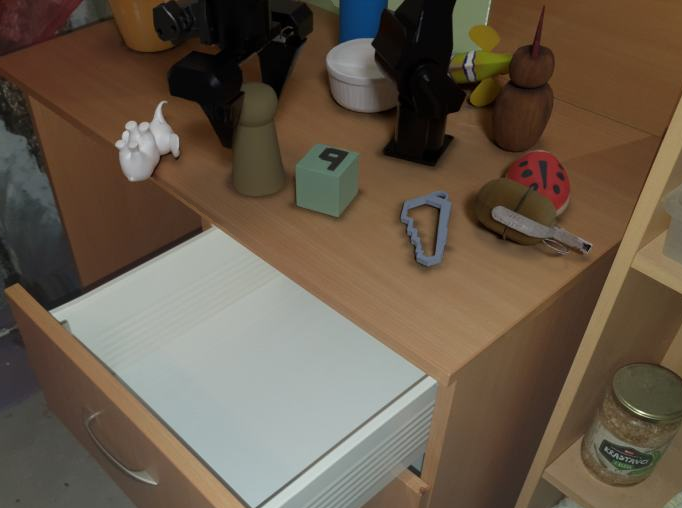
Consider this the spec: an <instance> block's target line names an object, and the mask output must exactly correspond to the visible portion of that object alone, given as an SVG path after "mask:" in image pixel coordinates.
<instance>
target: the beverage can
mask: <svg viewBox="0 0 682 508" xmlns="http://www.w3.org/2000/svg"><path fill="white" fill-rule="evenodd" d="M338 3H339V4H338V45H339V44H342V43H344V42H347V41H350V40H354V39H361V38H375V37H376V35H377V32H378V30H379V25H380V18H381V13H382V11H383V9H384V8H387V9H389V0H338Z"/></svg>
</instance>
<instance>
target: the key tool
mask: <svg viewBox="0 0 682 508" xmlns="http://www.w3.org/2000/svg"><path fill="white" fill-rule="evenodd" d="M442 197H444V198H442ZM452 203H453V202H452V201H450V195H449V193H448V192H446V191H443V190H434V191H432V192H430V193H428V194H425V195H421V196H418V197H415V198H411V199H408V200H405V201H404V204H403V208H402V211H401V215H400V222H401V223H403V224H406V225H407V229H406V230H407V232H406V233H407V236H409V237H410V244H411V245H413V246H415V257H416V262H417V263H419V264H421V265H423V266H425V267H431V266H434V265H439V264H441V263H442V259H443V257H444V254H445V253H444V252H445V246H446V245H447V241H448V236H449V228H448V226H449V223H450V217H451V213H452V208H453V207H452V205H453V204H452ZM424 205H429V206H431V207H435V208H436V209H437V208H438V209H440V211H439V219H438V227H437V235H436V244H435V254H434V255H431V256H427V255H425V251H424V250H423V246H422V244H421V243H422V242H421V237H420V236H419V229H417V228H416V227H415V226H414V225H415V218H414V217H410V216H408V213H409V210H411V209H414V208H416V207H419V206H424Z"/></svg>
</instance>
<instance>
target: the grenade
mask: <svg viewBox="0 0 682 508" xmlns="http://www.w3.org/2000/svg"><path fill="white" fill-rule="evenodd" d="M474 212H475V214H476V216H477V218H478V220H479V222H480V223H481V224H483V226H484V227H485V228H488V229H489V230H490V231H493V232H495V233H497V234H499V235H501V236H502V239H503V240H506V239H509V240H511V241H514V242H515V243H518V244H520V245H524V246H534V245H538V244H540V243H541V242H543V243H544V244H545V245H546V246H547V247H548V248H550V249H553V250H555V251H556V253H557V254H561V255H564V256H565V255H566V256H567V255H568V254H569V253H570V251H571V249H573V248H574V249H576V250H578V251H580V252H582V253H583V254H587V255H588V254H589V252H590V251H591V249H592V247H593V243H591V242H589V241H587V240H585V239H583V238H581V237H579V236H577V235H575V234H573V233H571V232H569V231H567V230H566V229H564V228H562V227H560V226H557V225H558V222H557V220H556V218H557V217H556V214H557V213H556V209H555V207H554V205H553V203H552V202H551V201H550V199H549V198H547V197H545V196H543V195H542V194H540V193H538V192H536V191H534V190H533V186H532V187H530V188H528V187H526V186H524V185H522V184H520V183H518V182H516V181H514V180H511V179H506V178H505V177H500V178H495V179H491V180H489V181H488V182H487V183H485V184H483V185H482V187H481V188H480V189H479V191H478V192H477V194H476V196H475V199H474ZM546 241H548V242H549V241H550V242H551V243H554V244H556V245H558V246H560V247H562V248H563V250H562V249H558V248H557V247H554V246H553V245H550V244H549V243H548V242H546ZM566 246H567V247H569V249H568V248H567V247H566Z"/></svg>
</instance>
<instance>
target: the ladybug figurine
mask: <svg viewBox="0 0 682 508" xmlns="http://www.w3.org/2000/svg"><path fill="white" fill-rule="evenodd" d="M504 178H506V179H511V180H514V181H516V182H518V183H520V184H522V185H524V186H526V187H528V188H530V187H532V186H533V190H534V191H536V192H538V193H540V194H542V195H543V196H545V197H547V198H549V199H550V201H551V202H552V203H553V205H554V207H555V209H556V213H557V214H556V218H557V217H558V216H560V215H561V214H562V213H563V212H564V211H565V210H566V209H567V207H568V205H569V203H570V200H571V199H570V198H571V183H570V178H569V176H568V173H567V171H566V169H565V167H564V166H563V164H562V163H561V161H560V160H559V159H558V158H557V157H556V156H555V155H554V154H553V153H551V152H549V151H547V150H543V149H534V150H530V151H527V152H525V153H524V154H522V155H520V156H518V158H517V159H516V160H515V161H514V162H512V164H511V165H510V167H509V168H508V170H507V171H506V174H505V177H504Z"/></svg>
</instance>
